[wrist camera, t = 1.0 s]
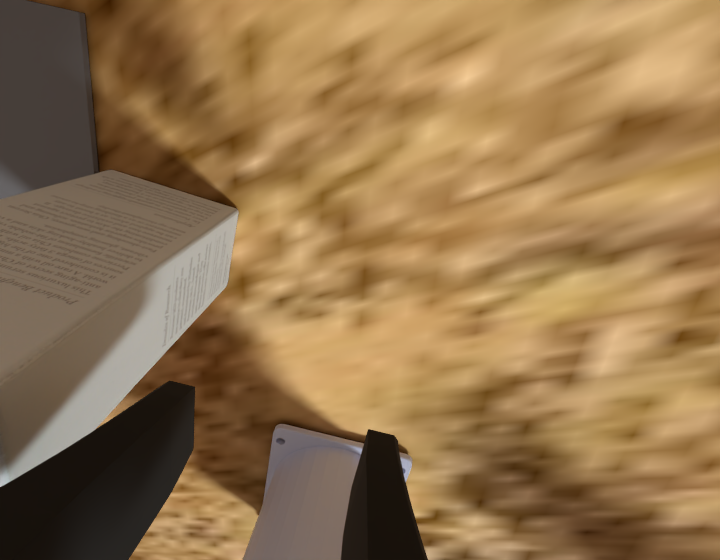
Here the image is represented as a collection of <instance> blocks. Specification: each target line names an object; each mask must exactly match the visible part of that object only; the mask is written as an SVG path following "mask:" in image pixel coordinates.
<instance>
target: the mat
mask: <svg viewBox="0 0 720 560" xmlns="http://www.w3.org/2000/svg"><path fill="white" fill-rule="evenodd" d="M96 173H99V168H98V157H97V145H96V134H95V123H94V111H93V100H92V89H91V77H90V66H89V55H88V44H87V32H86V21H85V14H84V13H80V12H76V11H72V10H67V9H63V8H58V7H54V6H49V5H45V4H41V3H36V2H32V1H27V0H0V199H3V198H7V197H11V196H14V195H18V194H21V193H25V192H29V191H32V190H36V189H40V188H43V187H47V186H51V185H54V184H58V183H62V182H66V181H69V180H73V179H77V178H81V177H85V176H88V175H92V174H96Z"/></svg>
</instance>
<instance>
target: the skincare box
mask: <svg viewBox="0 0 720 560" xmlns="http://www.w3.org/2000/svg"><path fill="white" fill-rule="evenodd" d="M238 213H239V212H238V209H236V208H233V207H230V206H227V205H223V204H220V203H217V202H214V201H211V200H207V199H204V198H201V197H198V196H195V195H191V194H188V193H185V192H182V191H179V190H176V189H172V188H169V187H166V186H163V185H159V184H156V183H153V182H150V181H146V180H143V179H140V178H137V177H133V176H130V175H127V174H124V173H121V172H118V171H115V170H107V171H103V172H99V173H96V174H92V175H88V176H85V177H81V178H77V179H73V180H69V181H66V182H62V183H58V184H54V185H51V186H47V187H43V188H40V189H36V190H32V191H29V192H25V193H21V194H18V195H14V196H11V197H7V198H3V199H0V487H1V486H3V485H5V484H7V483H8V482H10V481H12V480H14V479H15V478H17V477H19V476H20V475H22V474H24V473H26V472H27V471H29V470H31V469H32V468H34V467H36V466H37V465H39V464H41V463H42V462H44V461H46V460H47V459H49V458H51V457H53V456H54V455H56V454H58V453H59V452H61V451H62V450H64V449H66V448H67V447H69V446H71V445H72V444H74V443H75V442H77V441H78V440H80V439H81V438H83V437H85V436H86V435H88V434H89V433H91V432H92V431H94V430H95V429H96V428H97V427H98V426H99V425H100V423H101V422H102V421H103V420H104V419H105V418H106V417H107V416H108V415H109V413H110V412H111V411H112V410H113V409H114V408H115V407H116V406H117V405H118V404H119V403H120V402H121V401H122V400H123V398H124V397H125V396H126V395H127V394H128V393H129V392H130V391H131V389H132V388H133V387H134V386H135V385H136V384H137V383H138V382H139V381H140V380H141V379H142V378H143V376H144V375H145V374H146V373H147V372H148V371H149V370H150V369H151V368H152V367H153V366H154V365H155V363H156V362H157V361H158V360H159V359H160V358H161V357H162V356H163V355H164V354H165V353H166V351H167V350H168V349H169V348H170V347H171V346H172V345H173V344H174V343H175V342H176V341H177V340H178V339H179V337H180V336H181V335H182V334H183V333H184V332H185V331H186V330H187V329H188V328H189V327H190V326H191V324H192V323H193V322H194V321H195V320H196V319H197V318H198V317H199V316H200V315H201V314H202V313H203V311H204V310H205V309H206V308H207V307H208V306H209V305H210V304H211V303H212V302H213V301H214V299H215V298H216V297H217V296H218V295H219V294H220V293H221V292H222V291H223V290H224V289H225V287H226V286H227V283H228V278H229V270H230V263H231V256H232V250H233V244H234V238H235V232H236V226H237V220H238Z"/></svg>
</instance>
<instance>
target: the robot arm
mask: <svg viewBox="0 0 720 560" xmlns="http://www.w3.org/2000/svg"><path fill="white" fill-rule="evenodd" d="M194 404H195V387H193V386H189V385H185V384H181V383H177V382H173V381H168V382H167V383H165V384H163V385H162V386H160V387H159V388H157V389H156V390H154V391H153V392H151V393H150V394H148V395H147V396H145V397H144V398H142V399H141V400H139V401H138V402H136V403H135V404H134V405H132V406H131V407H129V408H128V409H126V410H125V411H123V412H122V413H120V414H119V415H117V416H116V417H114V418H113V419H111V420H110V421H108V422H106V423H105V424H103V425H102V426H100V427H99V428H97V429H96V430H94V431H92V432H91V433H89V434H88V435H86V436H85V437H83V438H81V439H80V440H78V441H77V442H75V443H74V444H72V445H71V446H69V447H67V448H66V449H64V450H62V451H61V452H59V453H58V454H56V455H54V456H53V457H51V458H49V459H47V460H46V461H44V462H42V463H41V464H39V465H37V466H36V467H34V468H32V469H31V470H29V471H27V472H26V473H24V474H22V475H20V476H19V477H17V478H15V479H14V480H12V481H10V482H8V483H7V484H5V485H3V486H1V487H0V560H128V559H129V558H130V556H131V555H132V553H133V552H134V550H135V548H136V547H137V545H138V544H139V542H140V541H141V539H142V538H143V536H144V535H145V533H146V531H147V530H148V528H149V527H150V525H151V524H152V522H153V521H154V519H155V517H156V516H157V514H158V513H159V511H160V510H161V508H162V506H163V505H164V503H165V502H166V500H167V499H168V497H169V495H170V494H171V492H172V490H173V488H174V486H175V484H176V482H177V481H178V479H179V477H180V475H181V473H182V471H183V469H184V467H185V465H186V463H187V461H188V459H189V457H190V455H191V453H192V451H193V449H194ZM281 438H282V439H281ZM411 467H412V458H411V457H410V456H409V455H407V454H405V453H401V452H399V447H398V440H397V439H396V437H395V436H394V435H390V434H386V433H382V432H378V431H374V430H369V429H368V432H367V435H366V439H365V442H364V443H360V442H356V441H352V440H348V439H344V438H339V437H335V436H331V435H327V434H323V433H319V432H315V431H311V430H307V429H303V428H299V427H295V426H290V425H286V424H278V425H277V426H276V427H275V429H274V432H273V438H272V444H271V451H270V458H269V465H268V472H267V479H266V486H265V493H264V500H263V505H262V508H261V511H260V513H259V516H258V519H257V522H256V524H255V527H254V530H253V533H252V535H251V538H250V541H249V544H248V546H247V549H246V552H245V555H244V557H243V560H428V559H427V556H426V553H425V550H424V546H423V543H422V540H421V537H420V533H419V530H418V526H417V523H416V520H415V516H414V513H413V509H412V506H411V502H410V498H409V494H408V490H407V486H406V480H407V478H408V475H409V472H410V470H411Z"/></svg>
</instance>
